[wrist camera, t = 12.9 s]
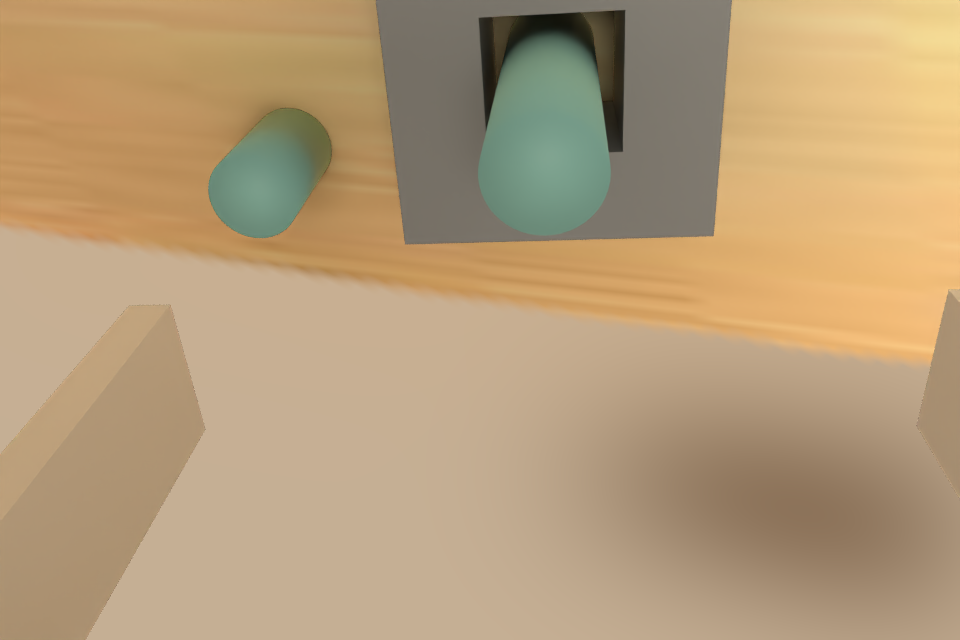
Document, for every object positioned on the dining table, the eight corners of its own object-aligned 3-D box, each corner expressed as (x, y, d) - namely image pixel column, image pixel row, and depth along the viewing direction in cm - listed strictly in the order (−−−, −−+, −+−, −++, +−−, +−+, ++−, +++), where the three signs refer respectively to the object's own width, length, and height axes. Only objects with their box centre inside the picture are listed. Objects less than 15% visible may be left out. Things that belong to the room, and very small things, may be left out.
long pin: (509, 89, 37) (482, 237, 25) (505, 3, 36) (473, 113, 23) (593, 86, 37) (610, 233, 24) (593, -2, 35) (611, 107, 22)
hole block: (426, 183, 40) (405, 244, 34) (396, -105, 34) (365, -88, 28) (691, 174, 39) (713, 236, 33) (708, -126, 33) (740, -113, 27)
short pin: (262, 185, 41) (219, 239, 35) (246, 109, 39) (199, 155, 34) (337, 182, 40) (304, 236, 35) (325, 106, 38) (289, 151, 33)
